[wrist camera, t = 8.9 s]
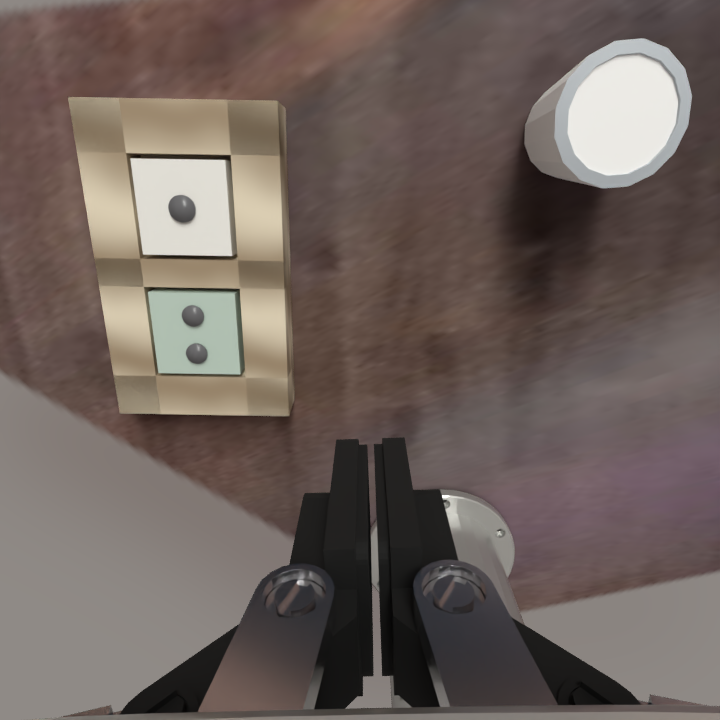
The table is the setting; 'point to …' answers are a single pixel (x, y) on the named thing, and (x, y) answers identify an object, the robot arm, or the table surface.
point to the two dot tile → (197, 330)
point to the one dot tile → (185, 206)
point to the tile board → (146, 272)
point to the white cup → (611, 116)
